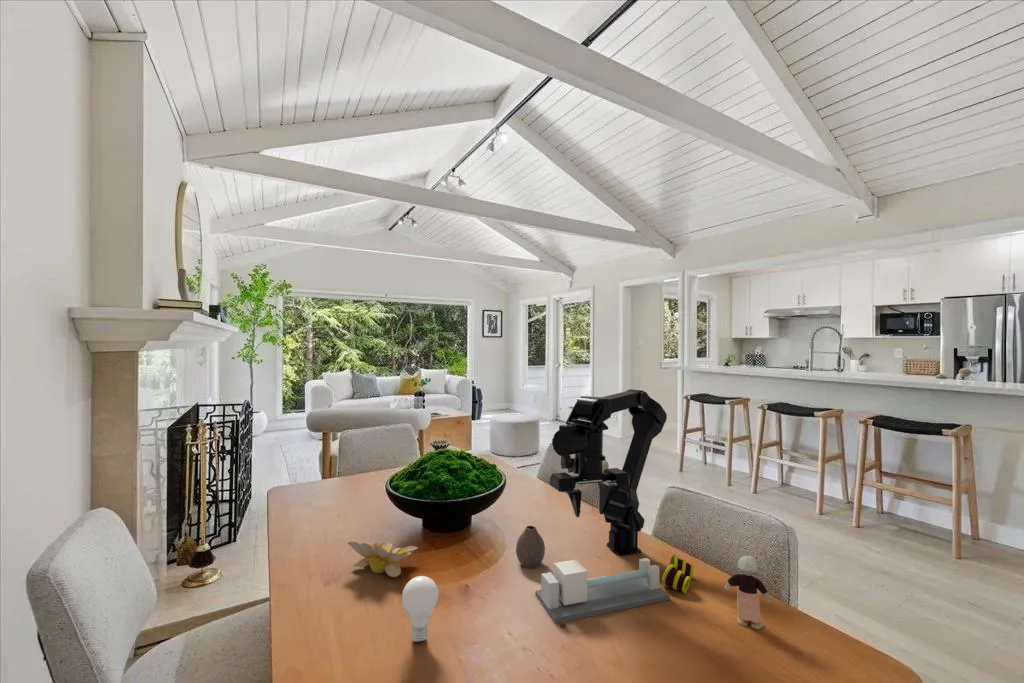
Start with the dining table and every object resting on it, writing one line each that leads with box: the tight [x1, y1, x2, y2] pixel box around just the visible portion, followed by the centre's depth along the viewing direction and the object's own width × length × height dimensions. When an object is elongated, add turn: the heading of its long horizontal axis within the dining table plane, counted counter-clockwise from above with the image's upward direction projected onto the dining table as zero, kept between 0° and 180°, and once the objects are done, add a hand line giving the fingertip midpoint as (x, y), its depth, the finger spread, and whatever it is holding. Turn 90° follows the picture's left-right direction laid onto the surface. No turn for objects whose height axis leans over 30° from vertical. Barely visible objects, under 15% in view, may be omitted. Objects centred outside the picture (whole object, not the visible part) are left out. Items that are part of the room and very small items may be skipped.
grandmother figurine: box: [724, 555, 772, 630], centre depth 87 cm, size 8×4×13 cm, turn 71°
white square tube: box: [553, 559, 588, 605], centre depth 92 cm, size 5×5×6 cm
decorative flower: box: [347, 540, 418, 578], centre depth 105 cm, size 15×11×10 cm
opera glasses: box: [661, 554, 694, 594], centre depth 101 cm, size 10×5×5 cm, turn 150°
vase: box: [515, 525, 546, 569], centre depth 109 cm, size 7×7×9 cm
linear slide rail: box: [535, 557, 671, 624], centre depth 95 cm, size 26×10×6 cm, turn 109°
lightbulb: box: [401, 575, 439, 643], centre depth 80 cm, size 6×6×11 cm
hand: (589, 515), depth 108 cm, fingers open, 6 cm apart
